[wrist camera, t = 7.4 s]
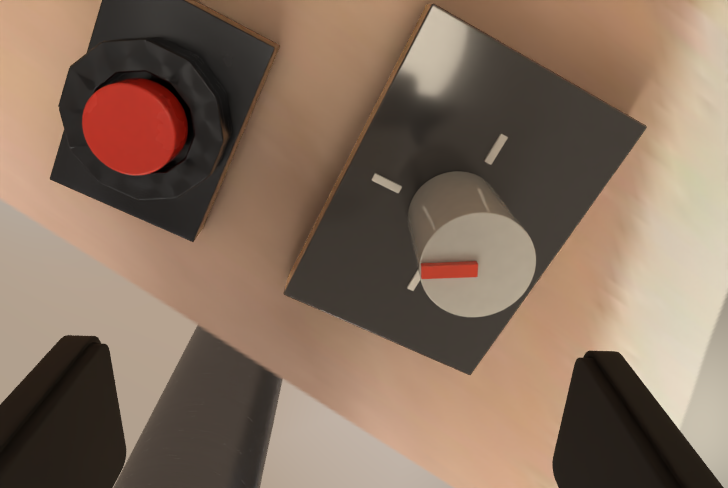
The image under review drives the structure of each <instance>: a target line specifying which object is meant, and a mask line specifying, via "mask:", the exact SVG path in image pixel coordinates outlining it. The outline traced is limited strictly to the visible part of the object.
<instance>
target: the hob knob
mask: <svg viewBox="0 0 728 488" xmlns="http://www.w3.org/2000/svg"><path fill="white" fill-rule="evenodd" d="M408 226H409V231H410V235H411V240H412V244H413V249H414V253H415V258H416V262H417V266H418V271H419V275H420V280H421V283H422V286H423V289H424V290H425V292H426V294H427V295H428V297H429V298H430V299H431V300H432V301H433V302H434V303H435V304H436V305H437V306H439V307H440V308H441V309H443V310H445V311H447V312H449V313H452V314H454V315H458V316H463V317H483V316H488V315H491V314H495V313H497V312H500V311H502V310H504V309H506V308H507V307H509V306H510V305H512V304H513V303H514V302H516V301H517V300H518V299H519V298H520V297H521V296H522V295H523V293H524V292H525V291H526V290H527V288H528V286H529V285H530V283H531V281H532V278H533V275H534V272H535V267H536V253H535V248H534V245H533V242H532V240H531V238H530V236H529V235H528V233H527V232H526V231H525V229H524V228H523V227H522V225H521V224H520V223H519V221H518V220H517V219H516V217H515V216H514V215H513V213H512V212H511V211H510V209H509V208H508V207H507V205H506V204H505V203H504V201H503V200H502V199H501V197H500V196H499V195H498V194H497V192H496V191H495V190H494V188H493V187H492V186H491V185H490V184H489V183H488V182H487V181H486V180H484V179H483V178H481V177H479V176H477V175H475V174H472V173H469V172H462V171H454V172H447V173H443V174H440V175H438V176H435V177H434V178H432V179H430V180H429V181H427V182H426V183H425V184H424V185H422V186H421V187H420V189H419V190H418V191H417V192H416V194H415V195H414V197H413V199H412V201H411V203H410V206H409V210H408Z"/></svg>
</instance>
